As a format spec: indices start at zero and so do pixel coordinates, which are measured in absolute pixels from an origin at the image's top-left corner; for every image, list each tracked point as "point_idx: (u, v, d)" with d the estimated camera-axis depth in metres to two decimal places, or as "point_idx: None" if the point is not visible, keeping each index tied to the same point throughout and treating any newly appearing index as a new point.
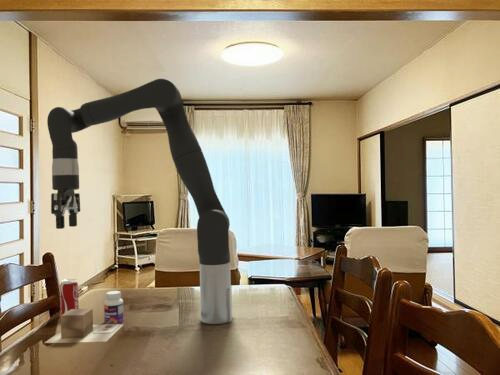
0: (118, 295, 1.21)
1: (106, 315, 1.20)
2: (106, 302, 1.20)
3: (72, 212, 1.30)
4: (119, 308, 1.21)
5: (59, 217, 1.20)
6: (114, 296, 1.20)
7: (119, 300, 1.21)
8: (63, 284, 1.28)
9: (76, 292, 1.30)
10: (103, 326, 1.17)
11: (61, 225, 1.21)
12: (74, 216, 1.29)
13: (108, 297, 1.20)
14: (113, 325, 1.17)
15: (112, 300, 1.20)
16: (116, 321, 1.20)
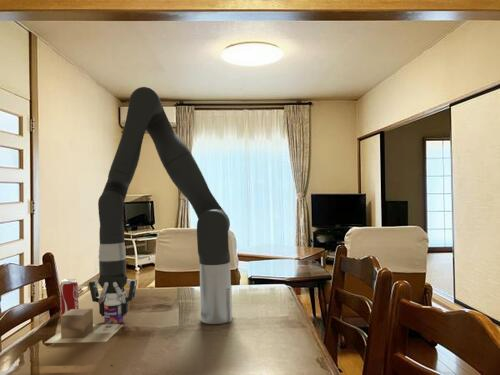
0: None
1: (106, 315, 1.20)
2: (106, 302, 1.20)
3: (103, 300, 1.22)
4: (119, 307, 1.21)
5: (127, 303, 1.22)
6: (114, 296, 1.20)
7: (119, 300, 1.21)
8: (63, 284, 1.28)
9: (76, 292, 1.30)
10: (103, 326, 1.17)
11: None
12: None
13: (108, 297, 1.20)
14: (113, 325, 1.17)
15: (112, 300, 1.20)
16: (116, 321, 1.20)
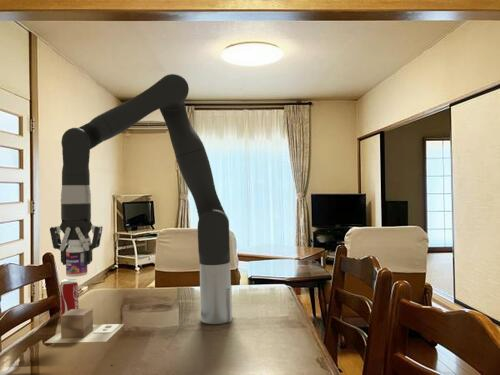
0: None
1: (67, 263, 1.10)
2: (68, 249, 1.11)
3: (66, 248, 1.12)
4: (82, 255, 1.11)
5: (91, 251, 1.12)
6: (76, 242, 1.11)
7: (82, 247, 1.12)
8: (63, 284, 1.28)
9: (76, 292, 1.30)
10: (103, 326, 1.17)
11: None
12: None
13: (70, 243, 1.11)
14: (113, 325, 1.17)
15: (74, 247, 1.11)
16: (78, 269, 1.10)
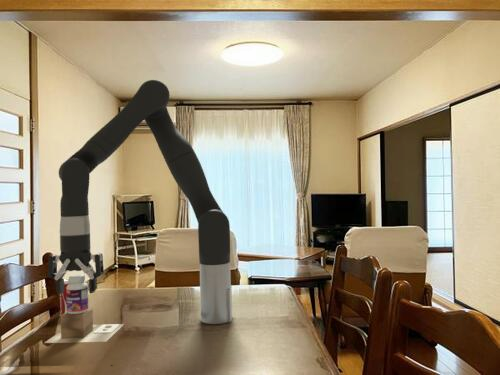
0: (82, 279, 1.11)
1: (68, 301, 1.09)
2: (68, 286, 1.10)
3: (61, 277, 1.11)
4: (83, 292, 1.10)
5: (95, 279, 1.11)
6: (77, 279, 1.10)
7: (83, 284, 1.11)
8: None
9: None
10: (103, 326, 1.17)
11: None
12: (63, 281, 1.12)
13: (70, 281, 1.10)
14: (113, 325, 1.17)
15: (75, 284, 1.10)
16: (79, 307, 1.09)
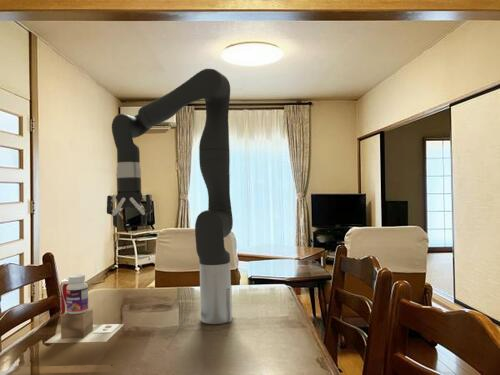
0: (82, 279, 1.11)
1: (68, 301, 1.09)
2: (68, 286, 1.10)
3: (117, 213, 1.33)
4: (83, 292, 1.10)
5: (146, 216, 1.34)
6: (77, 279, 1.10)
7: (83, 284, 1.11)
8: (63, 284, 1.28)
9: None
10: (103, 326, 1.17)
11: None
12: (118, 217, 1.34)
13: (70, 281, 1.10)
14: (113, 325, 1.17)
15: (75, 284, 1.10)
16: (79, 307, 1.09)
